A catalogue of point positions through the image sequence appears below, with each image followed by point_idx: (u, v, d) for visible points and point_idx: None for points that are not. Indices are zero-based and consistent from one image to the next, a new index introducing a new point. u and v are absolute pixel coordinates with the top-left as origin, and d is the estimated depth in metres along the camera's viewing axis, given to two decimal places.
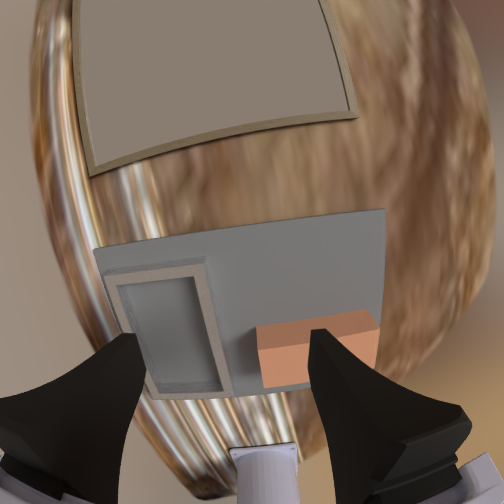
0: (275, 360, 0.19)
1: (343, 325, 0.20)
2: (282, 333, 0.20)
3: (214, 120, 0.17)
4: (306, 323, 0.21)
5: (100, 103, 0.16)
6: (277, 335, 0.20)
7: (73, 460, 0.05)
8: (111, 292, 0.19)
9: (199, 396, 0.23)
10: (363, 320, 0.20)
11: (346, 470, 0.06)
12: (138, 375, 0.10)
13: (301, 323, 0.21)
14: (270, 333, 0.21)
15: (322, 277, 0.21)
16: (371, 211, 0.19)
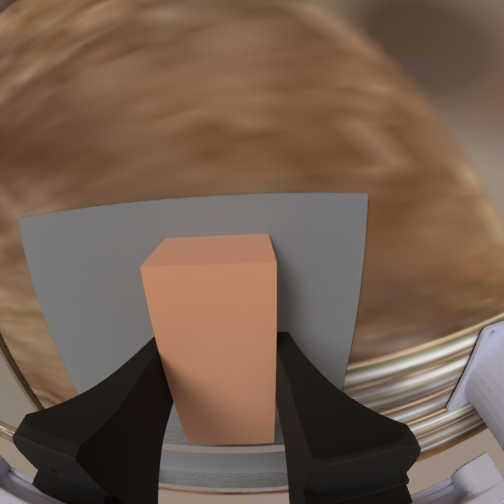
0: (208, 431, 0.11)
1: None
2: None
3: (10, 374, 0.14)
4: None
5: None
6: None
7: (121, 473, 0.05)
8: None
9: None
10: None
11: (293, 479, 0.06)
12: None
13: None
14: None
15: (109, 317, 0.12)
16: (23, 241, 0.11)
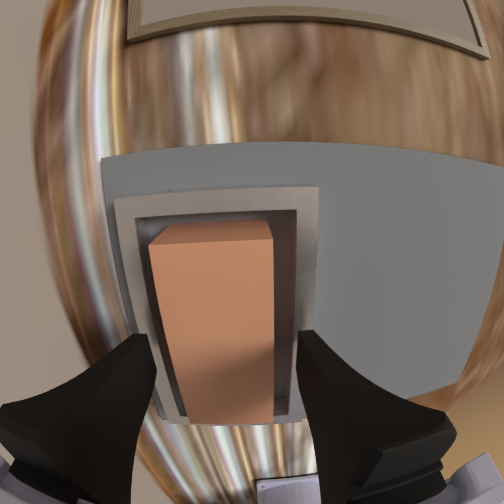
0: (210, 410, 0.11)
1: None
2: None
3: (340, 1, 0.09)
4: None
5: None
6: None
7: (88, 465, 0.05)
8: (124, 232, 0.10)
9: None
10: None
11: (329, 473, 0.06)
12: (149, 376, 0.10)
13: None
14: None
15: (451, 244, 0.12)
16: (500, 167, 0.11)
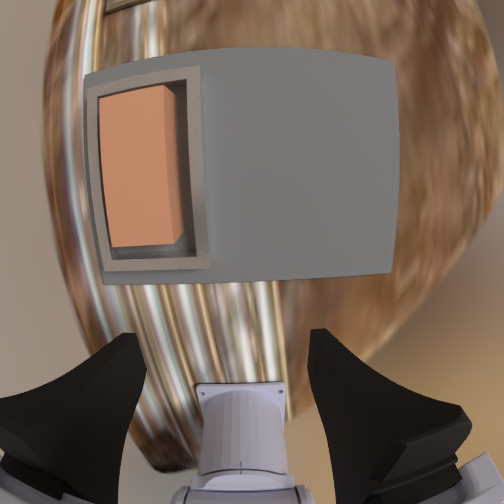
0: (125, 228, 0.15)
1: None
2: None
3: None
4: None
5: None
6: None
7: (73, 460, 0.05)
8: (90, 105, 0.14)
9: (162, 266, 0.18)
10: None
11: (346, 470, 0.06)
12: (138, 375, 0.10)
13: None
14: None
15: (331, 112, 0.16)
16: (379, 59, 0.15)
